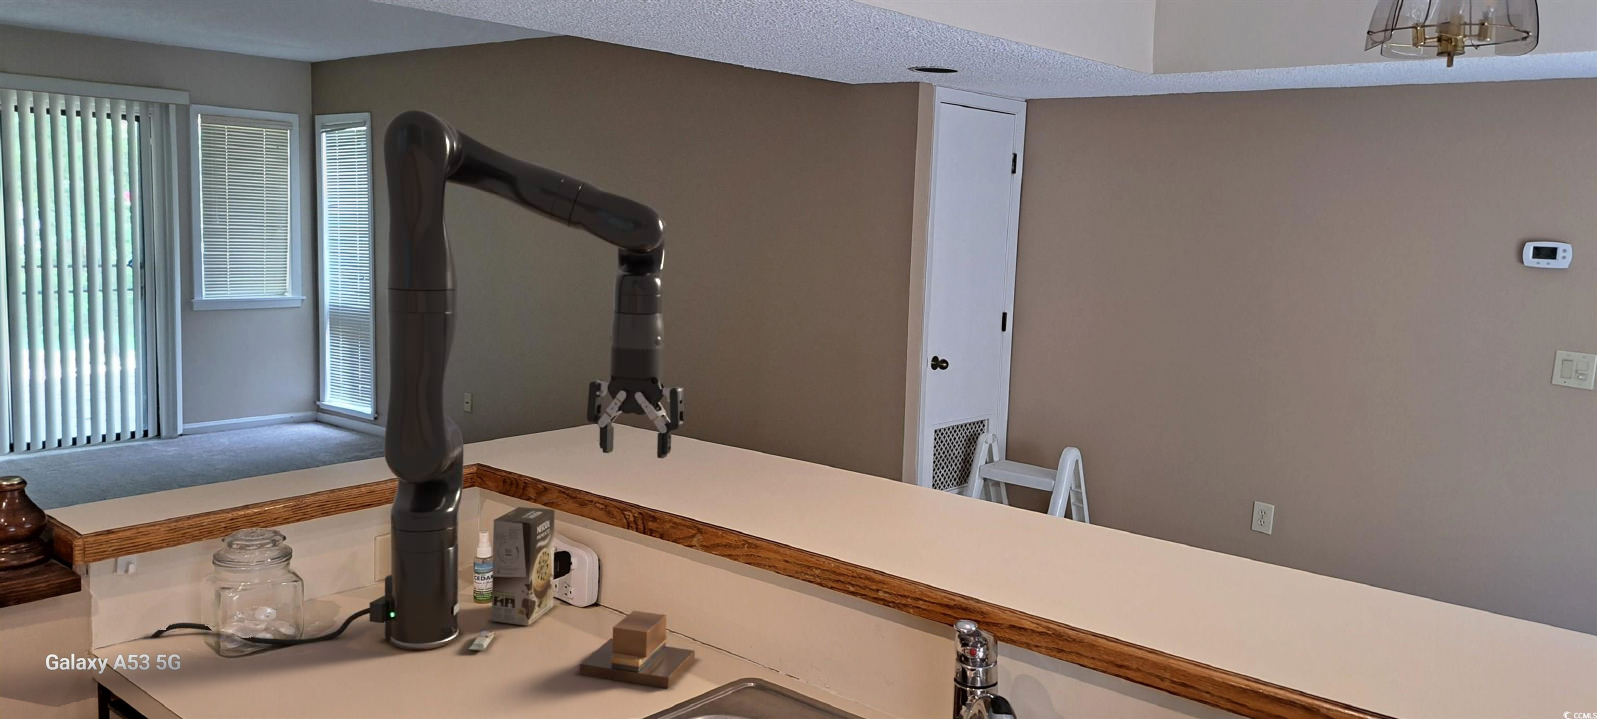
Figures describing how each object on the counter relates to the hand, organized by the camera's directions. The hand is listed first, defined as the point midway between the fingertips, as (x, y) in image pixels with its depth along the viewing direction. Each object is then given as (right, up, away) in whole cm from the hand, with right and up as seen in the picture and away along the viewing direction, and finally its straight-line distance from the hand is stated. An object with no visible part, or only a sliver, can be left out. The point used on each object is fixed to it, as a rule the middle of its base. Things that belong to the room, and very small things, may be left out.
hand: (634, 454), depth 155 cm
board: (+1, -29, -6) cm, 30 cm away
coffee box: (-19, -26, +12) cm, 35 cm away
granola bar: (-22, -28, -1) cm, 35 cm away
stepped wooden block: (+2, -28, -6) cm, 28 cm away
